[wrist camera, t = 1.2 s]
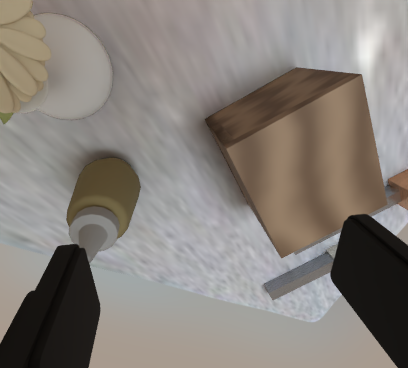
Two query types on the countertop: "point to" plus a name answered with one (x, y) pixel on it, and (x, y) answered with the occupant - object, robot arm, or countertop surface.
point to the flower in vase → (50, 64)
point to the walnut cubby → (303, 154)
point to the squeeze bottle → (102, 204)
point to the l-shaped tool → (301, 274)
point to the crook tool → (395, 194)
